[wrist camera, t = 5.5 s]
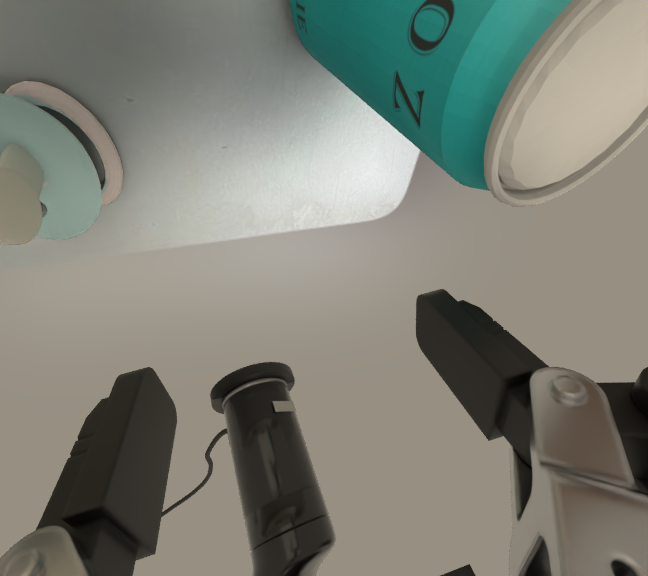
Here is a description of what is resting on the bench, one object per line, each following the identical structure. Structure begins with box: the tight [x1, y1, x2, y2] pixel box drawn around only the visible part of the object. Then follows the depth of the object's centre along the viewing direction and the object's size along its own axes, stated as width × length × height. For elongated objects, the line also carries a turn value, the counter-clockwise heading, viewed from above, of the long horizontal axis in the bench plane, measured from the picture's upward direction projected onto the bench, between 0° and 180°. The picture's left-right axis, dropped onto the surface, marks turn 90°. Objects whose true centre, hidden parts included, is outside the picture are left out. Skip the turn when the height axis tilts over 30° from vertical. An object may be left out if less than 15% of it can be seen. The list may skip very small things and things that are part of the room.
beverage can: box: [290, 0, 648, 207], centre depth 11 cm, size 6×6×15 cm
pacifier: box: [0, 81, 124, 245], centre depth 15 cm, size 7×6×6 cm
